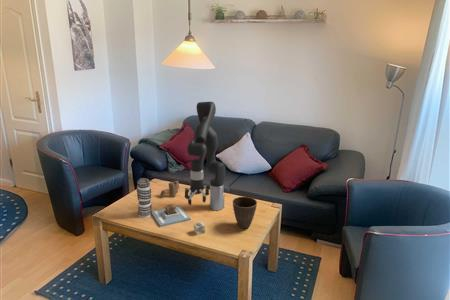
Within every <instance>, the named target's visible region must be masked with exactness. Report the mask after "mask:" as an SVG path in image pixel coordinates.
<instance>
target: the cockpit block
mask: <svg viewBox="0 0 450 300" xmlns="http://www.w3.org/2000/svg"><path fill="white" fill-rule="evenodd" d="M193 232H194V233H195V234H196V236H199V235H202V234H205V232H206V225H205V224H204V222H202V221H200V222H196V223H193Z"/></svg>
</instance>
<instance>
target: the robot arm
mask: <svg viewBox="0 0 450 300" xmlns="http://www.w3.org/2000/svg"><path fill="white" fill-rule="evenodd" d="M216 109H217V107H216V104H215V103H214V101H200V102H197V104H196V113H197V118H198V121H199V124H198V126H196V128H195V130H194V131H195V132H194V136H193V138H192V139H191V140H190V142H189V143H188V145H187V147H186V148H187V151H186V152H187V154H188V155H189V156H192V157H198V158H194V159H191V160H190V178H189V180H190V181H189V182H190V185H189V187H185V188H184V198H185V199H186V200H187V203H188V205H189V206H192V198H193V197H194V196H196V195H201V194H202V203H206V200H207V196H209V209H210V210H213V211H221V210H222V209H224V208H225V194H224V188H225V187H224V186H225V185H224V182H225V179H226V164H224V163H223V162H221V161H217V160H216V151H217V150H218V147H219V139H218V138H219V137H218V134H217V132H216V130H214V128H213V127H212V126H211V125H212V122H213V120H214V118H215V115H216ZM205 158H206V168H207V171H208V173H209V174H210V175H213V176H214V177H215V178H211V179H210V180H209V185H208V184H206V183H204V178H205V177H204V174H205V173H204V160H205ZM204 184H205V185H204ZM204 191H205V192H204Z"/></svg>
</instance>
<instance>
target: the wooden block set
mask: <svg viewBox="0 0 450 300" xmlns="http://www.w3.org/2000/svg"><path fill="white" fill-rule="evenodd" d="M179 189H180V183H179V180H174V181H171V182H169V183H168V191H169V192H168V193H169V197H171V198H173V197H176V194H177V193H178V190H179ZM165 196H166V190H161V191H160V194H159V197H161V198H162V197H165Z"/></svg>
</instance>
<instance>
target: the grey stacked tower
mask: <svg viewBox="0 0 450 300" xmlns="http://www.w3.org/2000/svg"><path fill="white" fill-rule="evenodd" d="M136 184H137V186H136V188H135V189H136V197H137V201H138V203H137V204H138V205H137V209H138V211H137V212H138V213H137V214H138V217H140V218H148V217H151V216H153V215H152V214H151V213H152V211H153V209H152V208H153V207H152V203H151V200H152V189H151V185H150V184H151V180H149V178H146V177H141V178H139V179H137V181H136Z"/></svg>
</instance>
